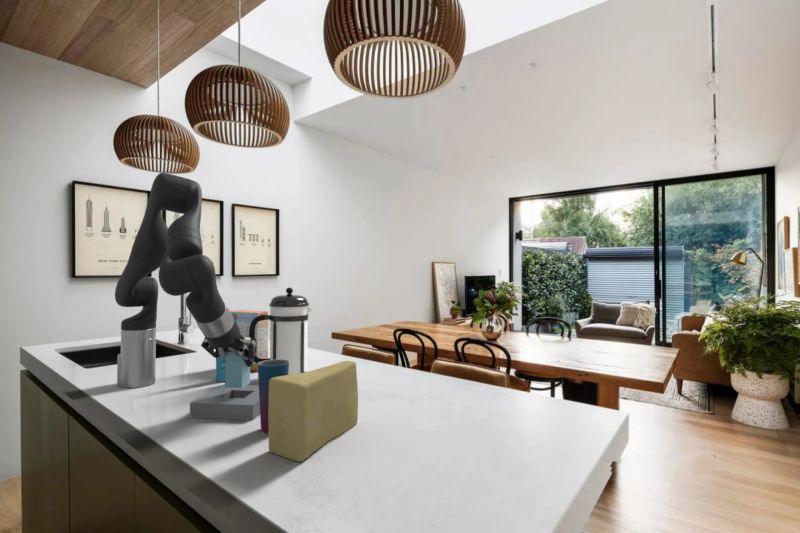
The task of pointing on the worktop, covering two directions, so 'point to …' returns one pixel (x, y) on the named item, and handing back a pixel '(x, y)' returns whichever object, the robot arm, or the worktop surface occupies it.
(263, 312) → the cracker box
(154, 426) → the worktop surface
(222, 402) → the socket
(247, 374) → the white-topped blue pillar
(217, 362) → the tube
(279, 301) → the coffee press
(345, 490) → the worktop surface
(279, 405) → the cheese
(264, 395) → the cup
